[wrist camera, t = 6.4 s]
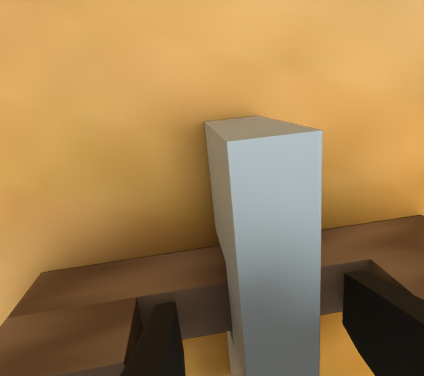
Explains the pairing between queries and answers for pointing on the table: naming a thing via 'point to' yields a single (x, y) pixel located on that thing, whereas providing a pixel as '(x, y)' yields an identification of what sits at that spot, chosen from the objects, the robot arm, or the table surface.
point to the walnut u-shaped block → (177, 298)
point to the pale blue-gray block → (269, 241)
